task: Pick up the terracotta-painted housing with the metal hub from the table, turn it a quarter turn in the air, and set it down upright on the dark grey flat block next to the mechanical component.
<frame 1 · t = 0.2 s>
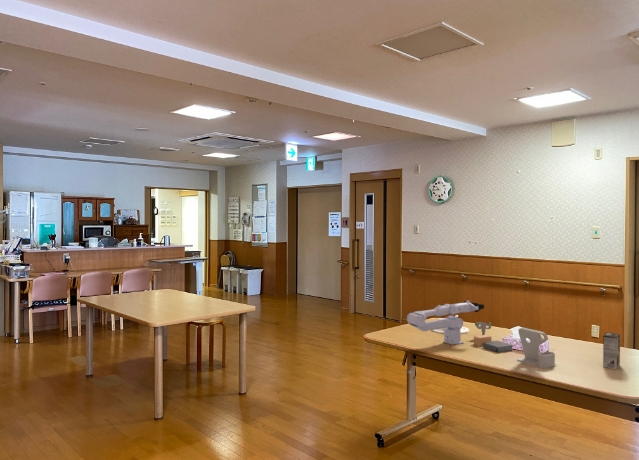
hand: (479, 305, 311), 21 cm above the table, tool horizontal, fingers open, 7 cm apart
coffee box: (611, 366, 253), on the table
dark grey flat block: (497, 348, 288), on the table
housing: (482, 344, 299), on the table
phone holder: (536, 363, 260), on the table
mechanical component: (483, 338, 313), on the table
dish: (450, 331, 338), on the table
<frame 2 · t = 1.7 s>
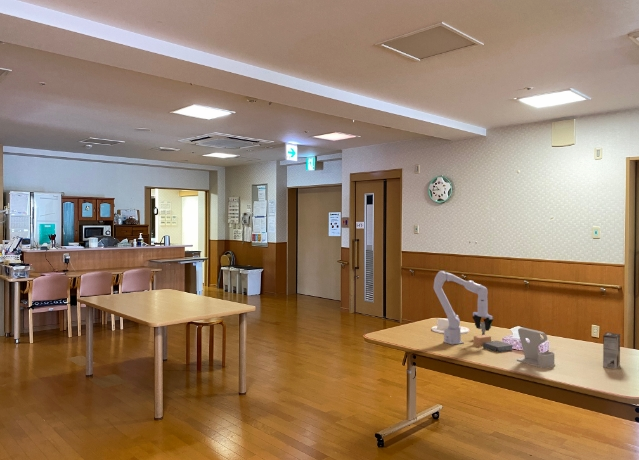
hand: (482, 329, 299), 9 cm above the table, tool pointing down, fingers open, 7 cm apart
nothing on the table moved.
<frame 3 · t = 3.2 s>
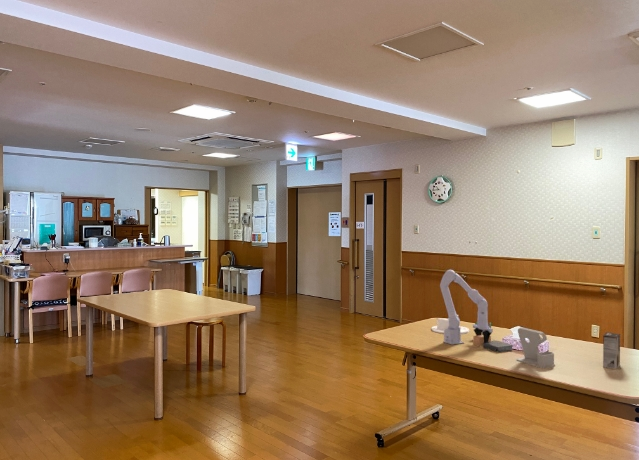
hand: (482, 341, 299), 1 cm above the table, tool pointing down, fingers closed on housing, 5 cm apart
housing: (482, 344, 299), on the table, touching gripper
everything else where it was.
when the fingers open (6 cm above the table, at t = 7.7 s): housing drops 1 cm, resting on dark grey flat block.
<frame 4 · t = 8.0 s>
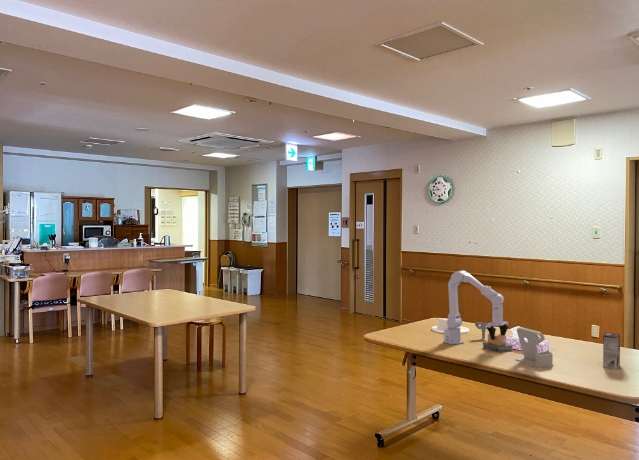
hand: (497, 338, 288), 6 cm above the table, tool pointing down, fingers open, 7 cm apart
housing: (496, 343, 288), point 3 cm above the table, touching dark grey flat block
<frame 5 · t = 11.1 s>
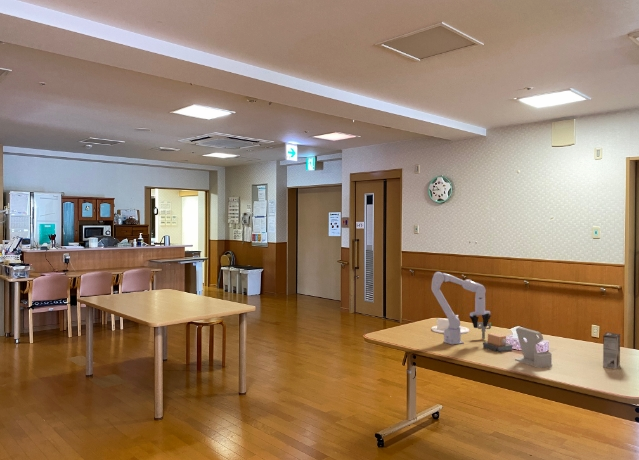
hand: (480, 327, 300), 10 cm above the table, tool pointing down, fingers open, 7 cm apart
at the end: housing inside the target area on the dark grey flat block (0.6 cm from its centre), point 3.0 cm above the dark grey flat block's base; housing tilted 0°; the gripper is holding nothing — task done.
